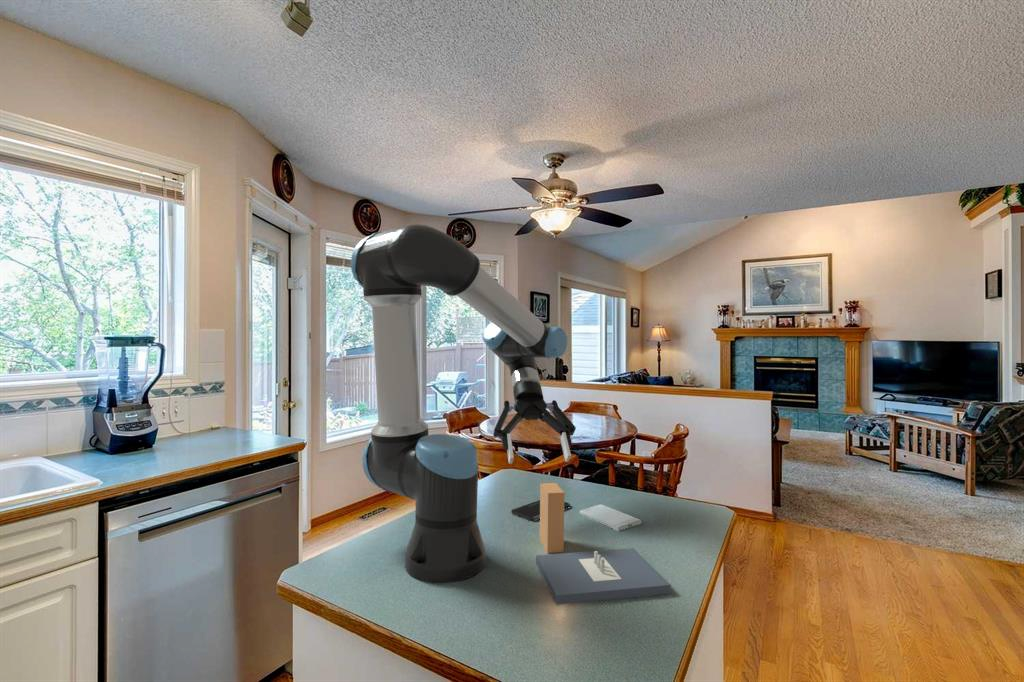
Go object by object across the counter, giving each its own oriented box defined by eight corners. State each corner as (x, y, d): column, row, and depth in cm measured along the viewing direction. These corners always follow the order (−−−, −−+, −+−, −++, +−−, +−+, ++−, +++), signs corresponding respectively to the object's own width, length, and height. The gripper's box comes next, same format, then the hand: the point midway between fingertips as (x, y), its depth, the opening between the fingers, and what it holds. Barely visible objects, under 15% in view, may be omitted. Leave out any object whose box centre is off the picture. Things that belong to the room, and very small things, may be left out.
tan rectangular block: (547, 553, 91) (548, 493, 91) (539, 539, 97) (540, 483, 98) (563, 551, 92) (564, 492, 92) (554, 538, 98) (555, 482, 98)
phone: (572, 504, 117) (532, 519, 107) (572, 508, 117) (532, 524, 107) (549, 496, 123) (509, 510, 112) (549, 500, 123) (509, 514, 112)
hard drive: (579, 510, 112) (618, 526, 102) (601, 503, 117) (641, 518, 107) (579, 517, 112) (618, 533, 102) (601, 510, 117) (641, 525, 107)
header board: (556, 604, 73) (556, 579, 73) (535, 563, 87) (536, 541, 87) (670, 593, 77) (670, 569, 77) (633, 555, 91) (633, 535, 91)
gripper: (569, 397, 125) (587, 466, 110) (478, 397, 120) (485, 470, 105) (575, 379, 120) (595, 449, 105) (481, 379, 115) (488, 452, 100)
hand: (540, 460), depth 105 cm, fingers open, 13 cm apart
